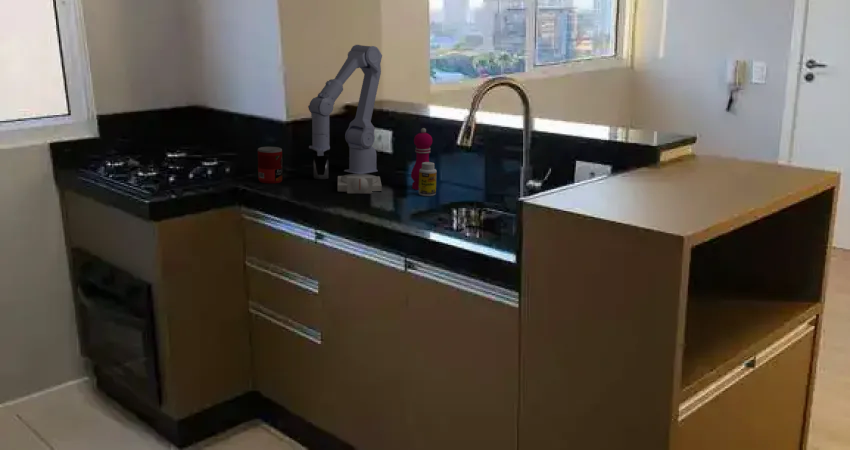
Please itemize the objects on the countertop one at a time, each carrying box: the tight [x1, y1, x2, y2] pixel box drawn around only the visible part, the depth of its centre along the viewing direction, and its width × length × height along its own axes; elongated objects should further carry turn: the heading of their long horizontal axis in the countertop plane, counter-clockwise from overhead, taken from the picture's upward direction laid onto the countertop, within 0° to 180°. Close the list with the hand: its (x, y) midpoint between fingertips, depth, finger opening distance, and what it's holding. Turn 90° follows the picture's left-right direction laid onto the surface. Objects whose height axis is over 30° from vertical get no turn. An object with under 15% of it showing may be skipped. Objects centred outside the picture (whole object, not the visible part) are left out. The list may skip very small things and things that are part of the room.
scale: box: [337, 173, 383, 194], centre depth 266 cm, size 17×14×5 cm
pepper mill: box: [410, 127, 433, 191], centre depth 265 cm, size 7×7×20 cm
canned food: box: [257, 146, 283, 185], centre depth 270 cm, size 8×8×11 cm
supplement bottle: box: [418, 161, 438, 197], centre depth 259 cm, size 6×6×10 cm
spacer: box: [313, 159, 329, 180], centre depth 278 cm, size 5×5×6 cm
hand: (321, 172), depth 278 cm, fingers closed on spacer, 5 cm apart
